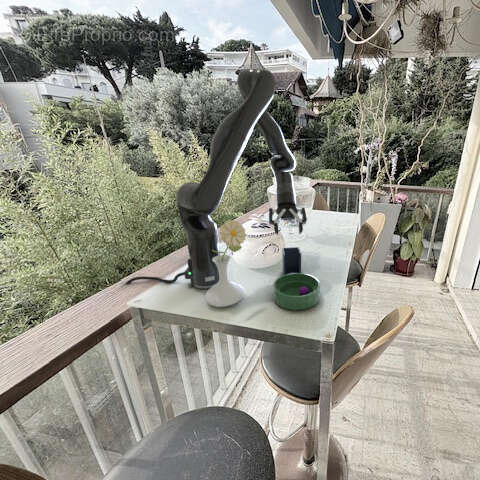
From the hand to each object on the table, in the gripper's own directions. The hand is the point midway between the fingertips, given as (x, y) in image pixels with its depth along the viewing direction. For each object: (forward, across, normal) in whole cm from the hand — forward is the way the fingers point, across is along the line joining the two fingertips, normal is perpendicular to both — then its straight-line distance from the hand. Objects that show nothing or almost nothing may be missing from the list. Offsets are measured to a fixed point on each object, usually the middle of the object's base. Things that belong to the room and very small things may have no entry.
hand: (289, 233), depth 99 cm
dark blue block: (+15, 0, +3) cm, 16 cm away
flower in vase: (+24, -21, -4) cm, 32 cm away
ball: (+24, +2, -8) cm, 26 cm away
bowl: (+25, 0, -7) cm, 26 cm away
